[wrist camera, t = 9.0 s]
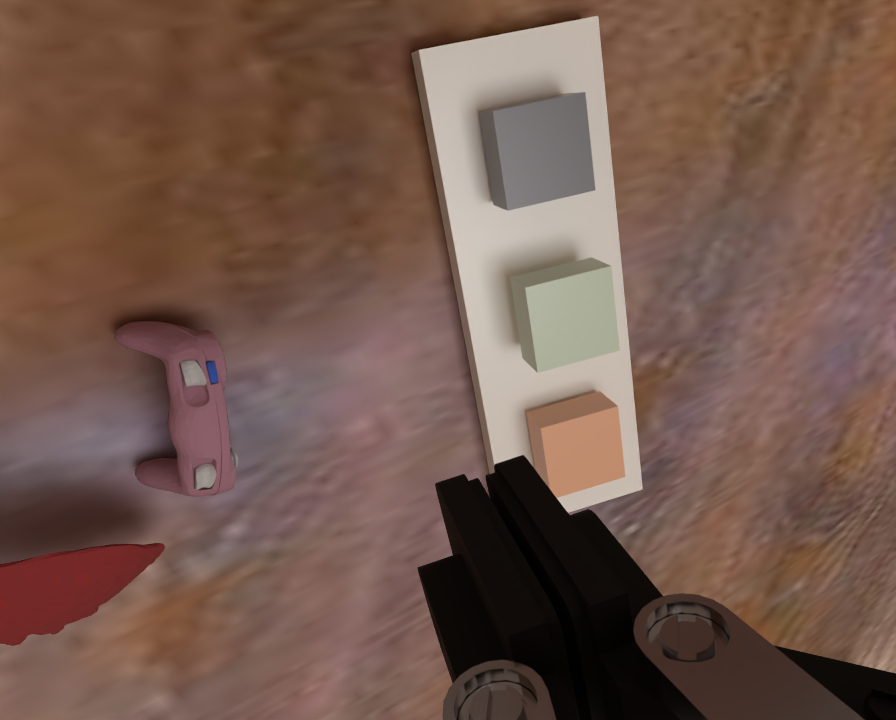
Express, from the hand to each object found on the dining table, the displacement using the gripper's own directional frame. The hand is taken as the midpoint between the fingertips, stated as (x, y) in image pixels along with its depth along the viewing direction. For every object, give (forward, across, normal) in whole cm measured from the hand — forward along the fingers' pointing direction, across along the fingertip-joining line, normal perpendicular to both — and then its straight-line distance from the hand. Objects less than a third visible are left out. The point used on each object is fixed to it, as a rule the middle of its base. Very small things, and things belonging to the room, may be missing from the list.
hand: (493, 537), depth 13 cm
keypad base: (+30, -11, +6) cm, 33 cm away
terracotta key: (+28, -11, +15) cm, 33 cm away
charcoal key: (+28, -12, -3) cm, 30 cm away
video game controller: (+30, +11, +6) cm, 33 cm away
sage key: (+27, -11, +6) cm, 30 cm away
